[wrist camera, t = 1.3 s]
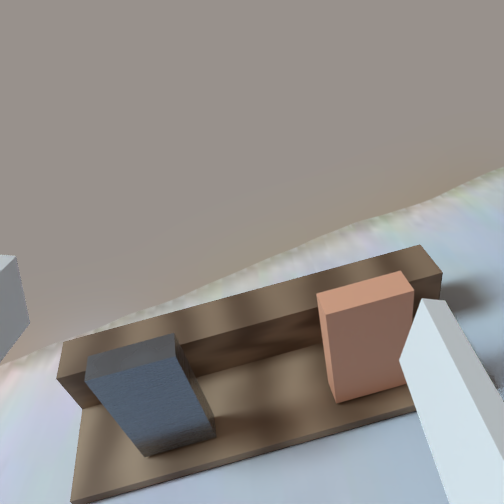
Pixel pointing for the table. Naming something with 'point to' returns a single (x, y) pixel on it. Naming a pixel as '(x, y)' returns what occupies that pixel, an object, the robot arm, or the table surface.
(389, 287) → the terracotta key
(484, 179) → the table surface
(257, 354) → the brown piece
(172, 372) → the grey rectangular slab
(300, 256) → the table surface
